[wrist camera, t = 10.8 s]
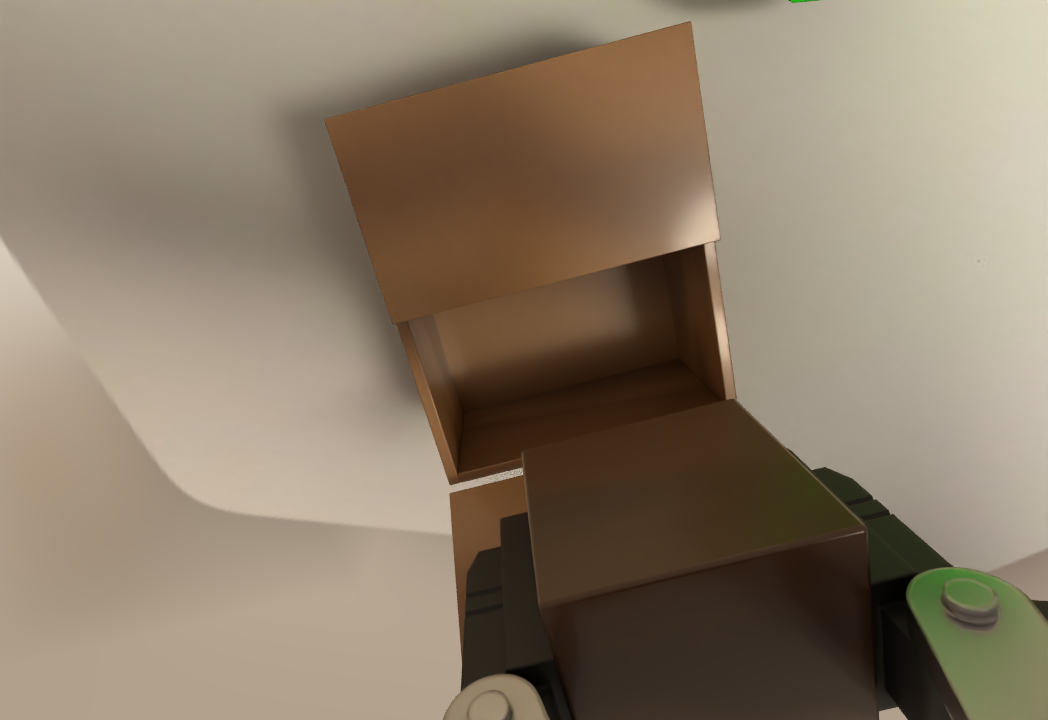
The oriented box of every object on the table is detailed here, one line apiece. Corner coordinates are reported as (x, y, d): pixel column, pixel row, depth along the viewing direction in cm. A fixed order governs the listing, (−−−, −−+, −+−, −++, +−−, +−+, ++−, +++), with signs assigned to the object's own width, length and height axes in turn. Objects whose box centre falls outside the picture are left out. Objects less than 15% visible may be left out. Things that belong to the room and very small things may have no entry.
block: (758, 572, 12) (885, 764, 8) (567, 619, 12) (603, 829, 8) (734, 395, 11) (871, 525, 7) (520, 449, 11) (537, 606, 7)
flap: (745, 419, 21) (744, 424, 21) (448, 493, 21) (451, 497, 21) (842, 591, 16) (840, 595, 16) (462, 682, 16) (465, 685, 16)
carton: (686, 361, 27) (747, 421, 21) (457, 419, 27) (448, 496, 21) (636, 57, 23) (692, 17, 16) (366, 129, 23) (320, 116, 17)
